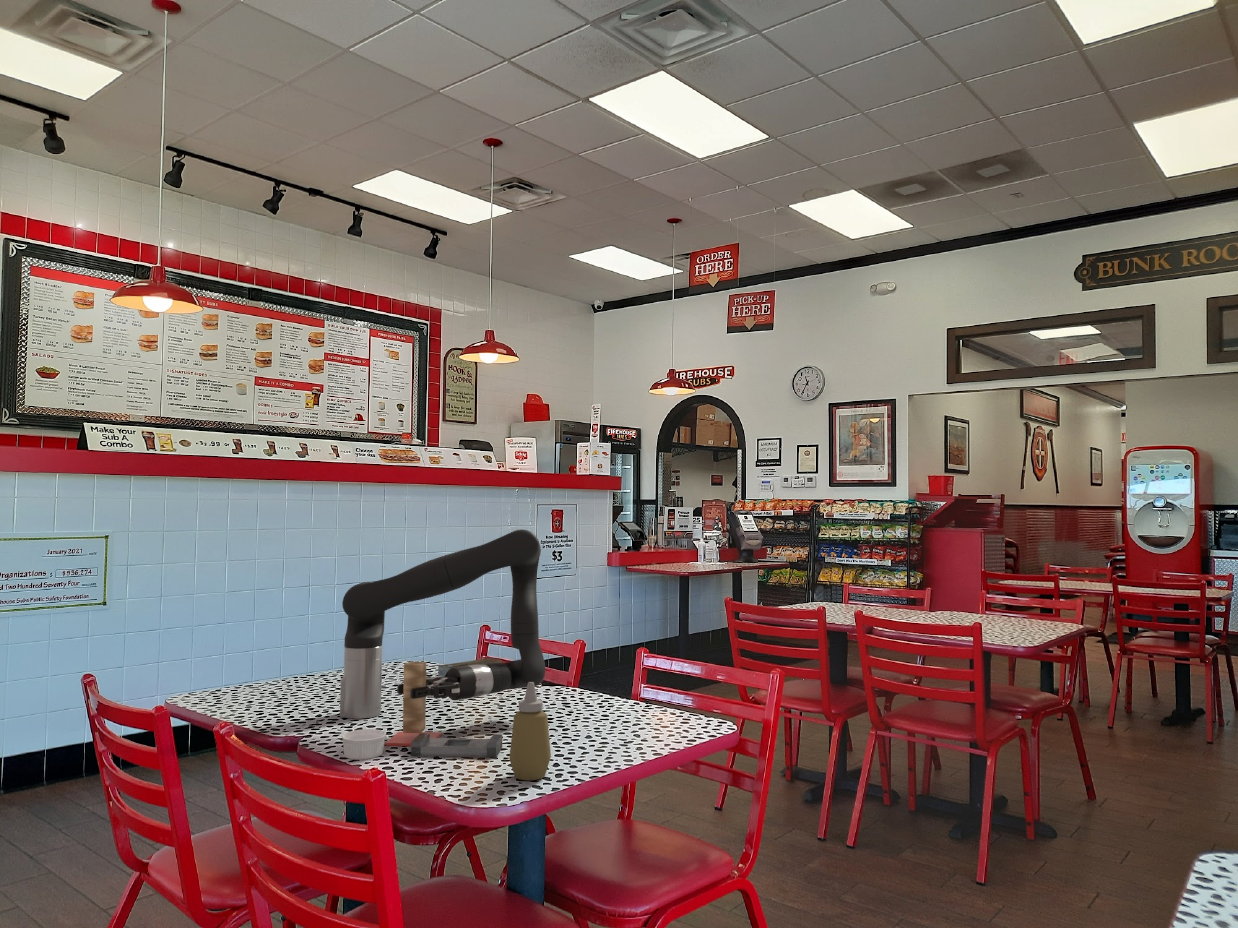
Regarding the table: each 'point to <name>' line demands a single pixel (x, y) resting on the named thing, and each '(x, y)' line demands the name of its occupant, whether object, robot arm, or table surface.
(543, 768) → the squeeze bottle
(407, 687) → the oak peg
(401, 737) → the red coaster
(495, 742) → the grey piece
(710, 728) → the table surface
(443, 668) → the beverage carton
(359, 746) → the ramekin
